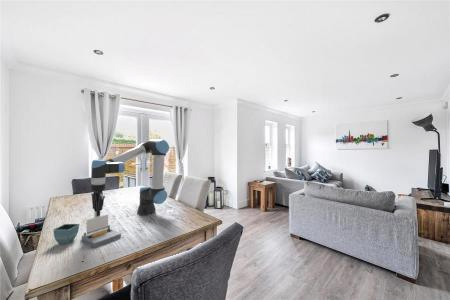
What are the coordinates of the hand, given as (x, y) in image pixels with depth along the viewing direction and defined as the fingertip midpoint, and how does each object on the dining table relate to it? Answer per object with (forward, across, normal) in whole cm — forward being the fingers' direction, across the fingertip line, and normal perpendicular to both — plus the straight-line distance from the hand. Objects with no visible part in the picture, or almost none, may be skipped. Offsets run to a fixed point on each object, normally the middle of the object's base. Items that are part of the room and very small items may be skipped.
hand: (97, 220), depth 117 cm
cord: (+9, +2, 0) cm, 9 cm away
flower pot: (+10, -6, -13) cm, 18 cm away
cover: (+2, +2, 0) cm, 2 cm away
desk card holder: (+10, +6, 0) cm, 12 cm away
